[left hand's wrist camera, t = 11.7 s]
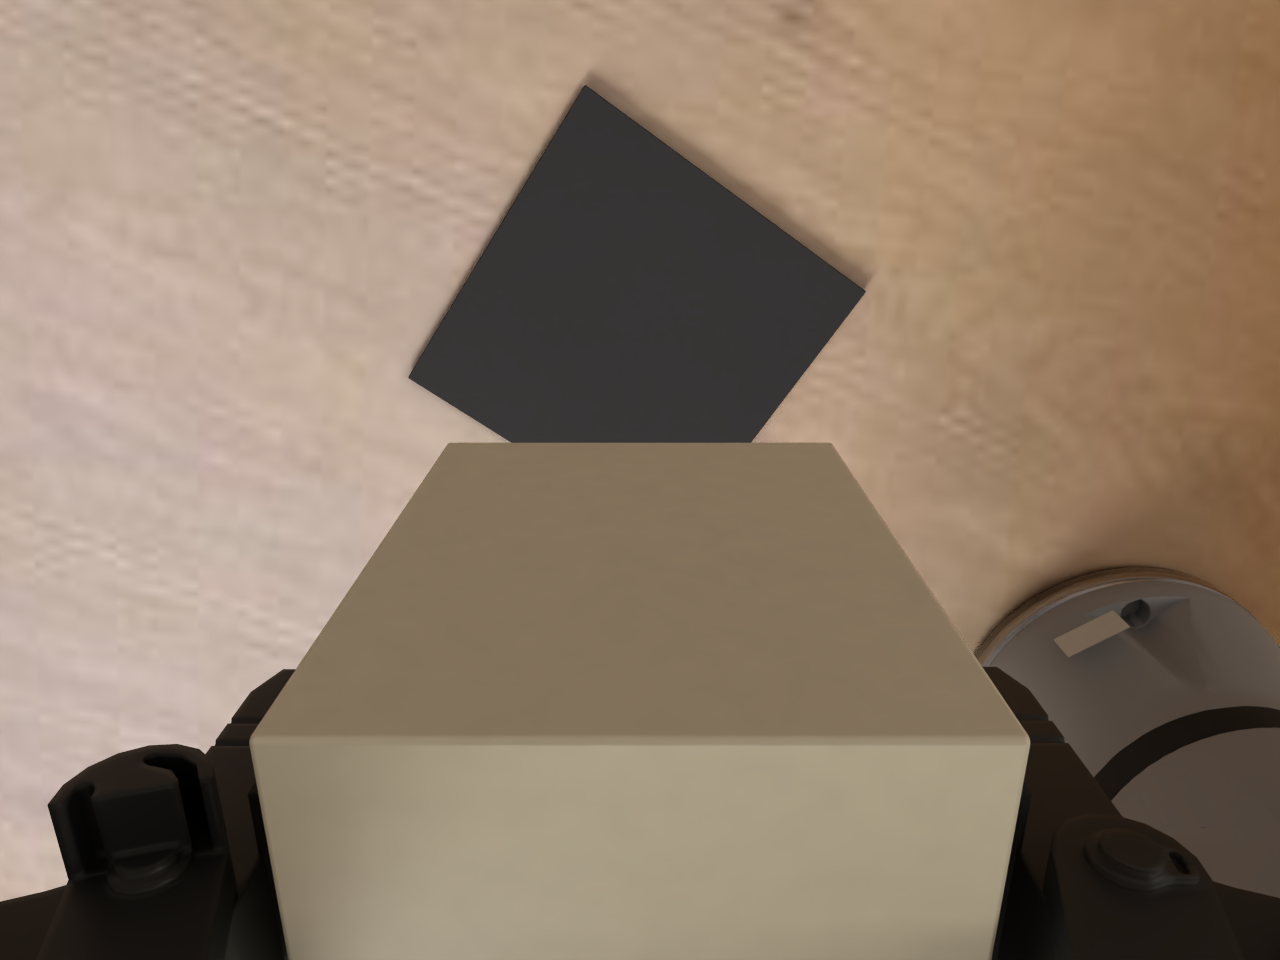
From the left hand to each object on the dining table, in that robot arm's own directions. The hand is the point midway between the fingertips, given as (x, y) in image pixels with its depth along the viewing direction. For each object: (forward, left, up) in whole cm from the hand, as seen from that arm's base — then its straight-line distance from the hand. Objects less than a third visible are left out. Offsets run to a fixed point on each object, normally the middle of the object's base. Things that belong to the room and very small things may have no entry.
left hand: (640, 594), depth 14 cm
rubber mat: (0, +1, -25) cm, 25 cm away
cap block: (0, 0, +1) cm, 1 cm away
